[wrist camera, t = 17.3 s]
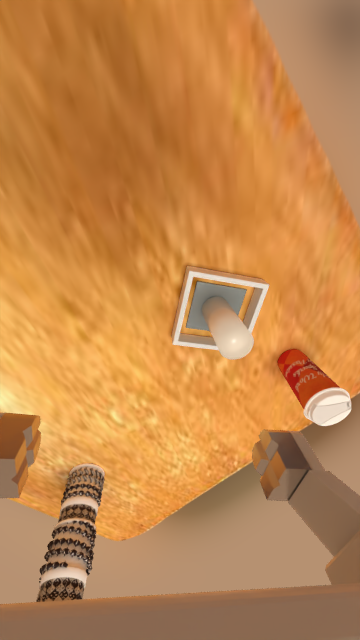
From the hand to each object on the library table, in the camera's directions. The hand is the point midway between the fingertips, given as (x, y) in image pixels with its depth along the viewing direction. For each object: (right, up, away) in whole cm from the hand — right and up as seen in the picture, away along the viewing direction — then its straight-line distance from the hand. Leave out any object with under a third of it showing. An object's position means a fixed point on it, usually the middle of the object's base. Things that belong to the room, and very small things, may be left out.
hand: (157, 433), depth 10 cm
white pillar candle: (+7, +6, +37) cm, 38 cm away
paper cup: (+24, -4, +45) cm, 51 cm away
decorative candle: (-22, -34, +55) cm, 68 cm away
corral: (+7, +6, +37) cm, 39 cm away
